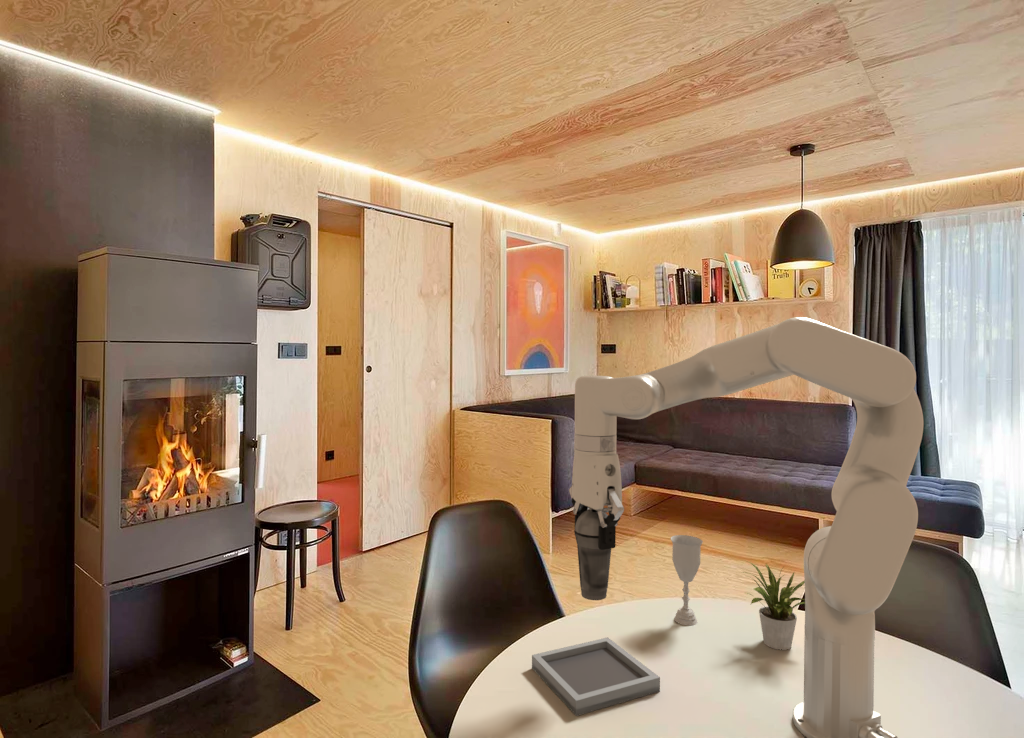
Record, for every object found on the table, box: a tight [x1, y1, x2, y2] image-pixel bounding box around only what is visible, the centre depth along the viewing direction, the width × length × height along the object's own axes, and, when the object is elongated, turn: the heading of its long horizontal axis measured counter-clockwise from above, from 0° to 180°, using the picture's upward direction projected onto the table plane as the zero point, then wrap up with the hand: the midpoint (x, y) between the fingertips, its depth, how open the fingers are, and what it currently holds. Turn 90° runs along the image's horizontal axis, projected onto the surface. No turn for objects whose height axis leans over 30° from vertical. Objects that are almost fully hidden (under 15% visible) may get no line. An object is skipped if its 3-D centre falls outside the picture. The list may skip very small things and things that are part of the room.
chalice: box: [670, 534, 704, 626], centre depth 129 cm, size 7×7×18 cm
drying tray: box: [531, 637, 661, 717], centre depth 105 cm, size 16×17×2 cm
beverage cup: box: [573, 508, 612, 601], centre depth 104 cm, size 7×7×20 cm
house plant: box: [741, 560, 805, 651], centre depth 119 cm, size 14×14×16 cm
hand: (594, 541), depth 104 cm, fingers closed on beverage cup, 7 cm apart
